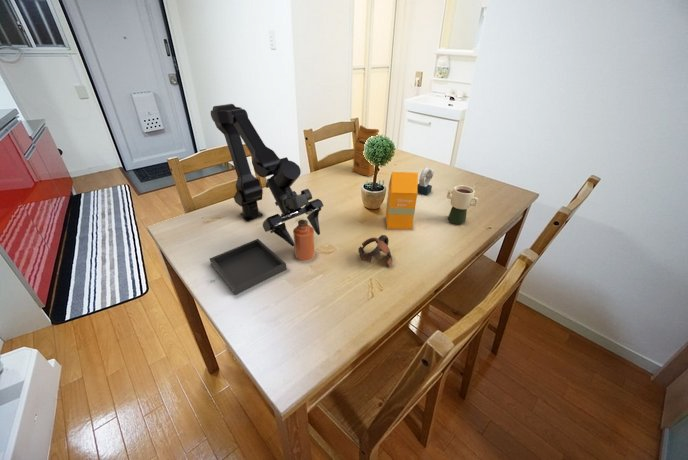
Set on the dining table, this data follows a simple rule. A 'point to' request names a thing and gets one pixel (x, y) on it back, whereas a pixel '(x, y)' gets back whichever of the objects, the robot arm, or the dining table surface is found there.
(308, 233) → the bottle
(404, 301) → the dining table surface
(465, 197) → the character mug
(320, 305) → the dining table surface
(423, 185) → the stone sculpture
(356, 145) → the coffee package
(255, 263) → the tray
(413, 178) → the orange juice
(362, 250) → the brown looped piece
